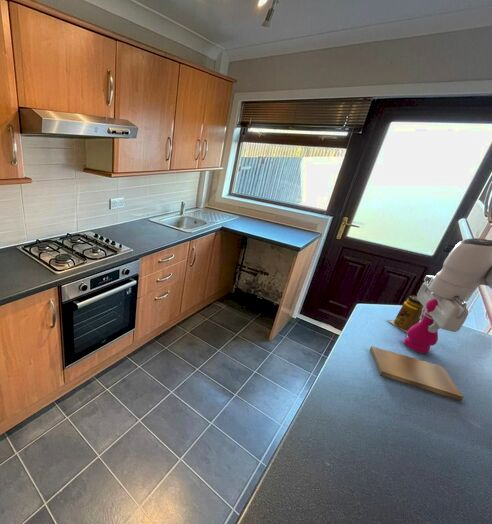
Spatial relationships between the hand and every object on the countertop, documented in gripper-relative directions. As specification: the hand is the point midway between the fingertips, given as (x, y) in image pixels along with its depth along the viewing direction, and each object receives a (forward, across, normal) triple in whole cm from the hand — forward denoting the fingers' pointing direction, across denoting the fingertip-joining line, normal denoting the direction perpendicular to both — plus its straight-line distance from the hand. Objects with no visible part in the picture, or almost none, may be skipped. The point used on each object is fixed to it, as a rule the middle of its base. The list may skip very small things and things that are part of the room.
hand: (426, 325), depth 91 cm
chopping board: (+9, -16, +6) cm, 19 cm away
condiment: (+9, +13, -2) cm, 16 cm away
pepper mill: (+9, 0, 0) cm, 9 cm away
